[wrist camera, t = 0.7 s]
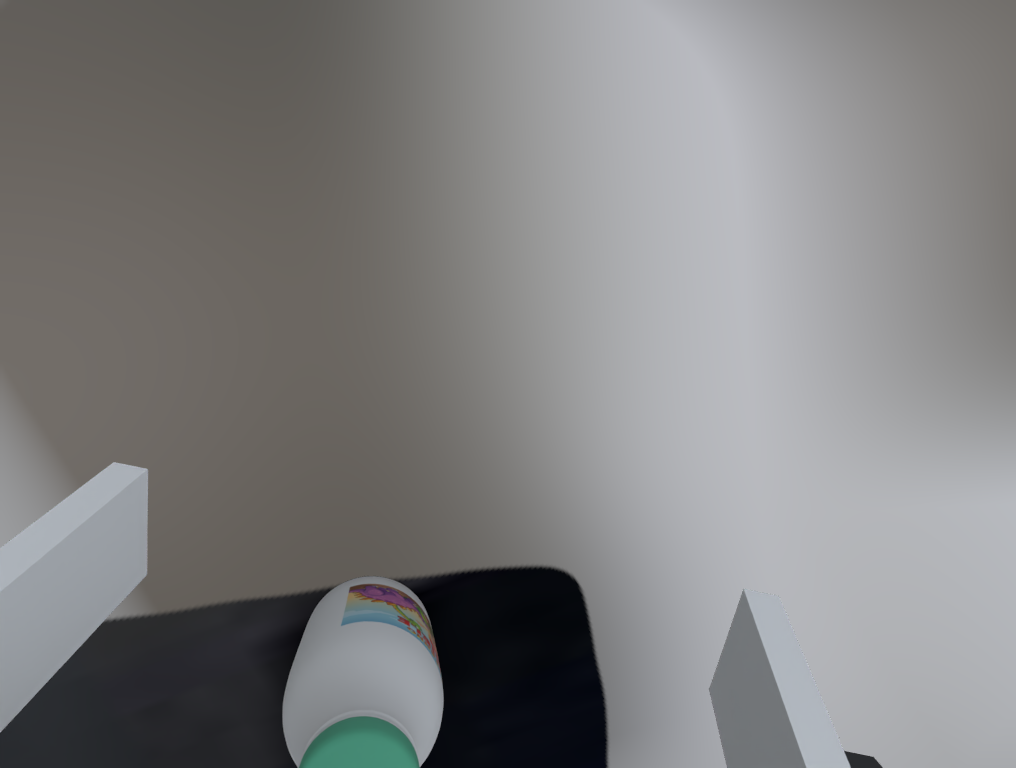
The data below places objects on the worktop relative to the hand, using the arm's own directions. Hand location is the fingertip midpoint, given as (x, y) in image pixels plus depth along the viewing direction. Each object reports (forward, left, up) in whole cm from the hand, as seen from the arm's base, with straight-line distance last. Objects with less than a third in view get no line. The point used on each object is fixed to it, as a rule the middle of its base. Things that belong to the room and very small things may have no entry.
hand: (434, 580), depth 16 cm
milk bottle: (-10, 0, -32) cm, 34 cm away
